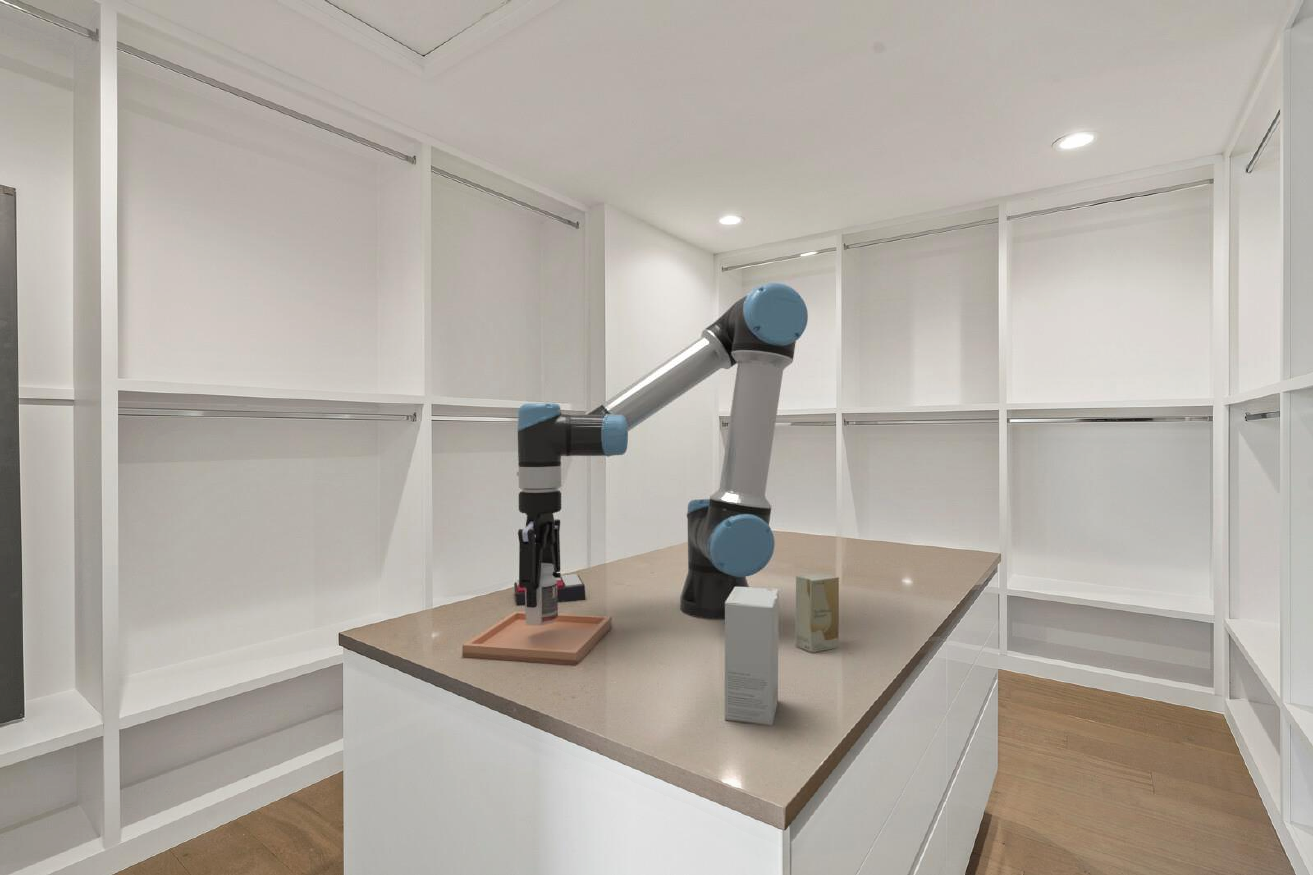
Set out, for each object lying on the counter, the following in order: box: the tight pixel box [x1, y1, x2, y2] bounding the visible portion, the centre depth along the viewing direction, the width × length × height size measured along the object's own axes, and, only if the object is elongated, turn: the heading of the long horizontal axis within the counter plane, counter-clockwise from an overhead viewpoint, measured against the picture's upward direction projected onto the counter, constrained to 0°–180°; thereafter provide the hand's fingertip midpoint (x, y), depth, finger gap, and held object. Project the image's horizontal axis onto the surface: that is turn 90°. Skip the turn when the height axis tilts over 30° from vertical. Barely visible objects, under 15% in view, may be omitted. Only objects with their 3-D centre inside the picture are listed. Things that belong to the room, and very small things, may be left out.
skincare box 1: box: [724, 586, 780, 726], centre depth 85 cm, size 8×7×16 cm
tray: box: [461, 610, 613, 666], centre depth 114 cm, size 20×20×2 cm
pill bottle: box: [524, 563, 559, 625], centre depth 114 cm, size 6×6×10 cm
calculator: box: [513, 573, 587, 606], centre depth 144 cm, size 11×4×15 cm
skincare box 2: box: [795, 572, 840, 653], centre depth 109 cm, size 6×4×12 cm
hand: (541, 619), depth 114 cm, fingers closed on pill bottle, 6 cm apart
